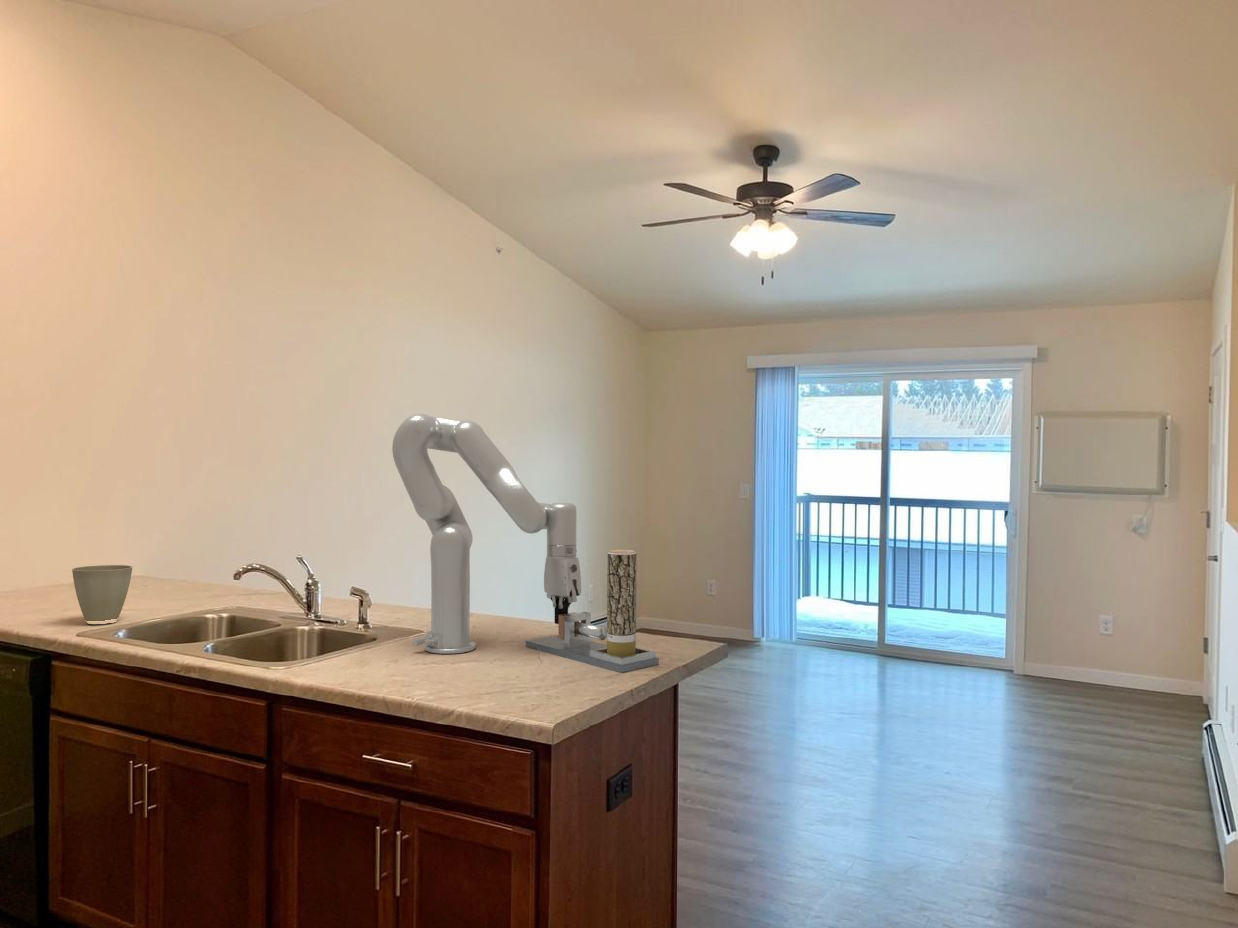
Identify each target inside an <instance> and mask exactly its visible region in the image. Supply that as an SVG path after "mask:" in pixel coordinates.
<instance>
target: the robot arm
mask: <svg viewBox="0 0 1238 928" xmlns="http://www.w3.org/2000/svg"><path fill="white" fill-rule="evenodd" d="M391 450H392V451H391V452H392V457H393V461H394V465H395V467H396V469H397V472H398V473H399V476H400V478H401V481H402V483H403V486H404V487H405V490H406V492H407V494H408V496H409V498H410V500H411V503H412V504H413V508H414V510H415V512H416V514H417V515H418V517H419V518H421V519H422V520H424V521H425V522H426V524H427V526H428V528H429V531H430V532H431V535H432V537H431V540H430V549H429V550H430V551H429V552H430V568H431V569H430V570H431V571H430V572H431V573H430V574H431V575H430V576H431V577H430V579H431V581H430V583H431V585H430V586H431V588H430V589H431V593H430V594H431V598H430V599H431V604H430V605H431V607H430V609H431V613H430V614H431V615H430V616H431V618H430V619H431V621H430V623H431V624H430V629H431V630H429V631H427V633H426V634H425V635H424V636H417V637H413V639H412V640H413V642H412V643H413V645H414V646H416V647H417V646H422V645H423V646H424V650H425V651H426V652H427V653H431V654H441V655H445V654H447V655H448V654H449V655H450V654H452V655H453V654H461V653H463V654H464V653H466V652H468V653H469V652H471V651H473V650H475V649H476V648H477V646H476V642H475V641H473V640H470V618H471V617H470V614H471V613H470V611H471V610H470V609H471V608H470V604H471V602H470V601H471V598H470V597H471V593H470V592H471V590H470V589H471V586H470V585H471V580H470V579H471V575H470V574H471V573H470V572H471V570H470V569H471V564H470V563H471V562H470V561H471V560H470V556H471V555H470V553H471V552H470V551H471V547H472V545H473V533H472V531H471V528H470V526H469V524H468V521H467V519H466V517H465V515H464V514H463V511H462V509H461V507H460V505H459V503H458V500H457V499H456V497H455V494H454V493H453V492H452V490H451V489H450V488H449V487H447V486H446V485H445V484H443V482H442V481H441V479H440V477H439V475H438V473H437V470H436V468H435V466H434V464H433V462H432V460H431V458H430V456H429V452H428V450H436V451H443V452H448V453H449V452H450V453H456V454H458V455H459V456H460V458H461V459H462V460H463V461H464V462H465V463H466V465H467V466H468V467H469V468H470V469H471V471H472V472H473V473H474V474H475V476H476V477H477V478H478V479H479V481H480V482H481V483H482V485H484V487H485V488H486V490H487V491H488V492H489V493H490V494H491V495H492V497H494V499H495V500H496V501H497V502H498V503H499V505H500V506H501V507H502V509H503V510H504V511H505V512H506V513H507V515H508V517H510V518H511V520H512V521H513V522H514V523H515V525H516V526H517V527H518V528H519V529H520V530H521V531H522V532H523V533H526V534H529V535H530V534H537V533H539V532H540V531H542V530H546V557H545V563H544V572H543V589H544V592H545V594H546V598H548V599H549V600H550V601H552V607H553V608H554V624H556V625H559V615H560V614H566V613H569V608H570V607H571V604H572V603H577V602H578V597H579V596H581V594H582V577H581V574H582V573H581V567H580V561H579V557H577V552H578V550H577V506H576V505H575V504H574V503H571V502H553V503H545V502H538V501H537V500H536V498H535V497H534V496H533V494H532V493H531V492H530V491H529V490H528V489H527V487H526V486H525V485H524V484H523V482H522V481H521V479H520V478H519V476H518V475H517V473H516V471H515V468H514V467H513V466H512V464H511V463H510V461H509V460H508V459H507V458H506V457H505V456H504V454H503V453H502V452H501V450H500V449H499V448H498V447H497V446H496V445H495V443H494V442H493V441H492V440H491V438H490V437H489V435H487V433H486V432H485V431H484V429H483V427H482V426H480V424H478V423H477V422H474V421H472V420H464V421H463V420H462V421H461V420H454V419H448V418H443V417H436V416H430V415H428V414H424V413H414V414H413V415H410V416H408V417H406V419H405V420H403V421H402V423H401V424H400V425H399V426H398V427H397V430H396V432H395V434H394V436H393V439H392V449H391Z"/></svg>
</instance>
